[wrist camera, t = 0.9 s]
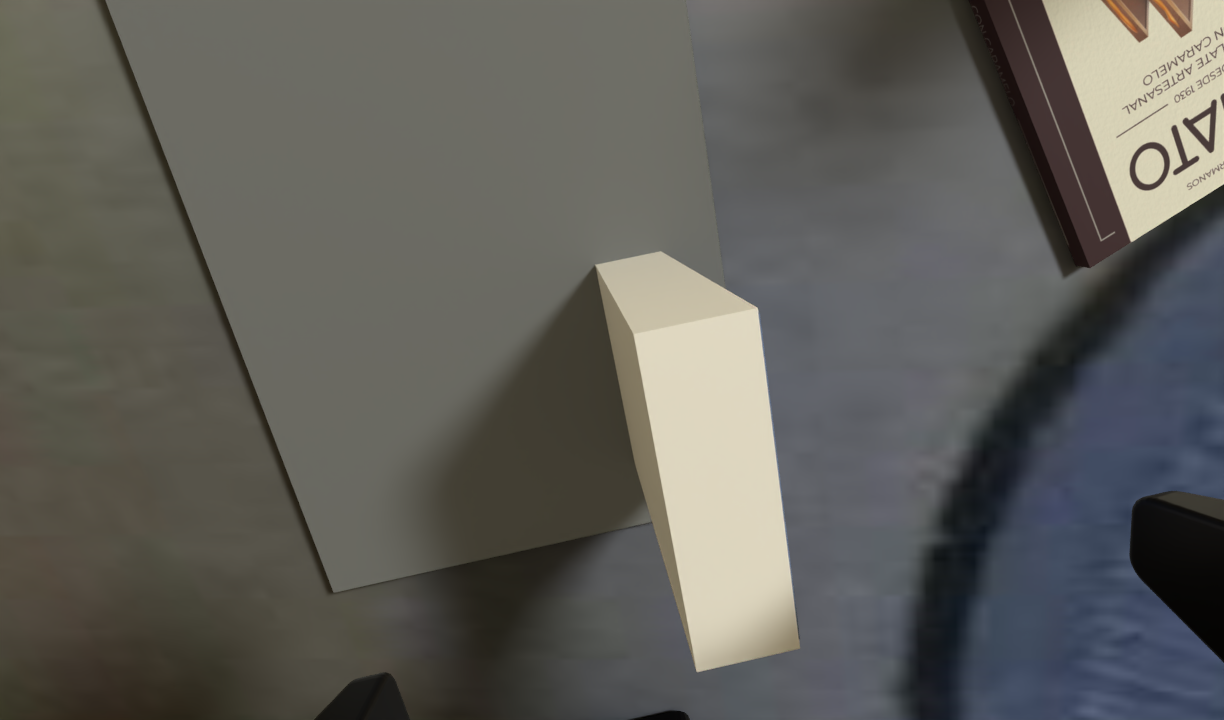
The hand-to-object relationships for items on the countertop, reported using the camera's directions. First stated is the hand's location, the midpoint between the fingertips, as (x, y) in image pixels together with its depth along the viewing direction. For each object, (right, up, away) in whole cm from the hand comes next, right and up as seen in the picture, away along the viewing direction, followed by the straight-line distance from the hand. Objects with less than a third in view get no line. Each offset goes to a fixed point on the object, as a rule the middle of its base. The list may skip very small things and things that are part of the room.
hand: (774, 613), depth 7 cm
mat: (-6, +6, +9) cm, 12 cm away
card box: (-1, +3, +10) cm, 10 cm away
